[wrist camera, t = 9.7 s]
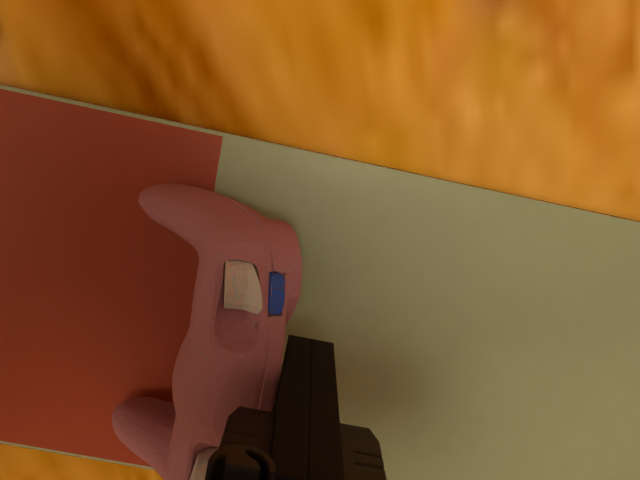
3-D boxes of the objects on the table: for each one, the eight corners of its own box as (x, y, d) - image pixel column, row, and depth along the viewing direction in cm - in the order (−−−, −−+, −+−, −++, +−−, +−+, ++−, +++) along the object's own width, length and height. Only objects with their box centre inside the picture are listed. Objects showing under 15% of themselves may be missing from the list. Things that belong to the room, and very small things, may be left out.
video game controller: (220, 409, 22) (283, 537, 16) (106, 420, 19) (130, 574, 14) (260, 185, 20) (350, 236, 14) (136, 168, 17) (180, 221, 11)
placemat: (-125, 414, 20) (-133, 420, 20) (-119, 58, 17) (-129, 56, 17) (662, 552, 22) (669, 560, 22) (794, 254, 19) (804, 257, 19)
